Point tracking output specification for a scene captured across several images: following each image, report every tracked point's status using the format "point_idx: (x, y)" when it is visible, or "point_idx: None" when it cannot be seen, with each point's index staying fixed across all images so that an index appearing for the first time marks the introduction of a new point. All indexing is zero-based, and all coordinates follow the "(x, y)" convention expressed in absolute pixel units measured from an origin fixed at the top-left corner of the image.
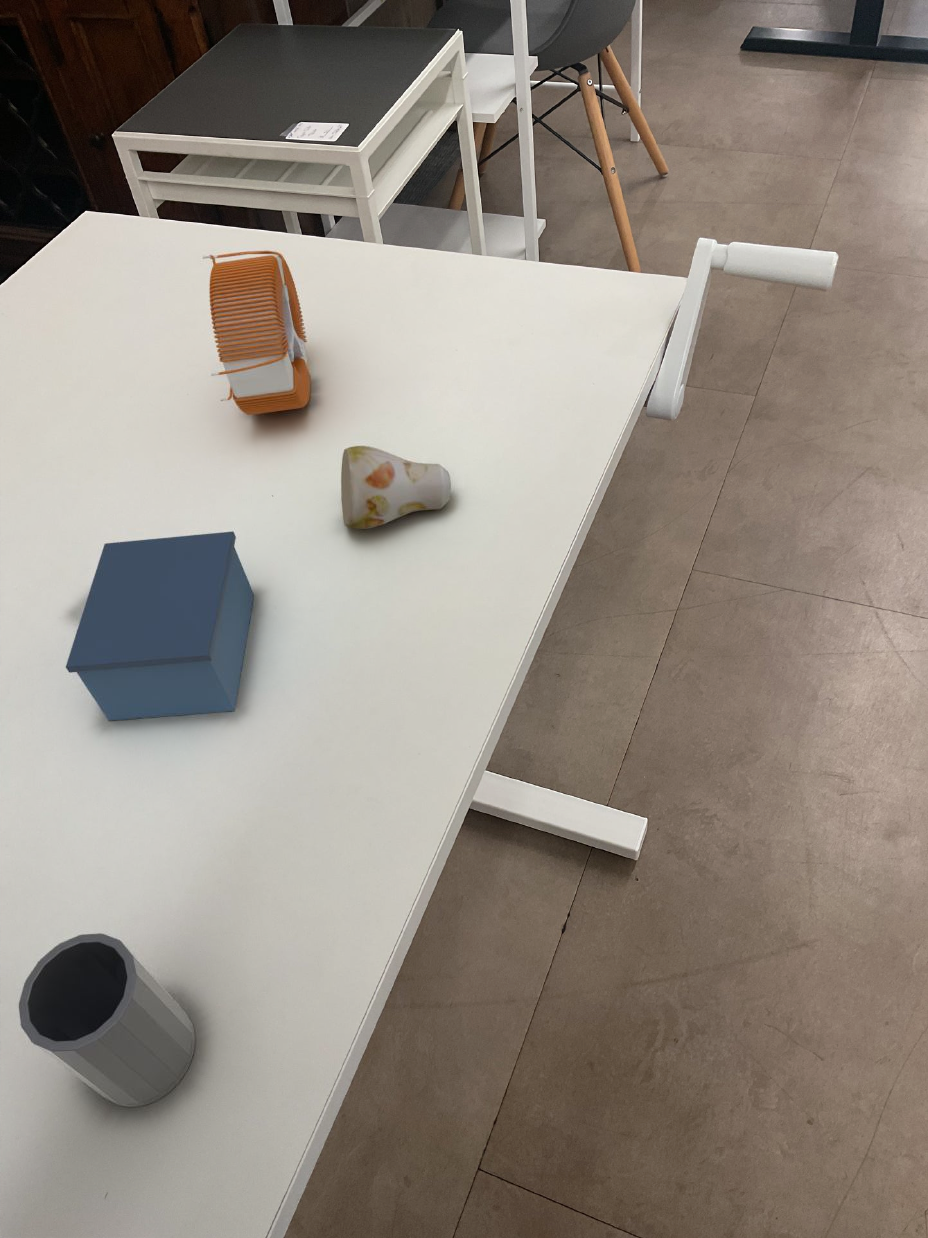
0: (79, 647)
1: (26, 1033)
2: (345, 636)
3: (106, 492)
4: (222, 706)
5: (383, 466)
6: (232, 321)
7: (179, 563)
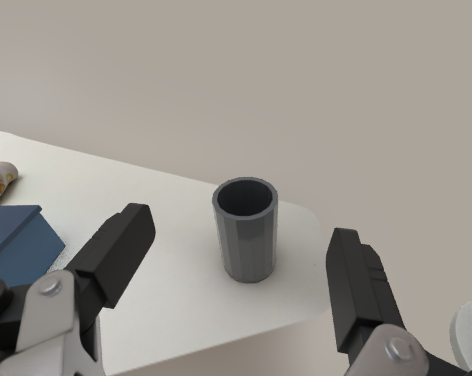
0: None
1: (268, 212)
2: (58, 205)
3: None
4: (59, 246)
5: None
6: None
7: None
